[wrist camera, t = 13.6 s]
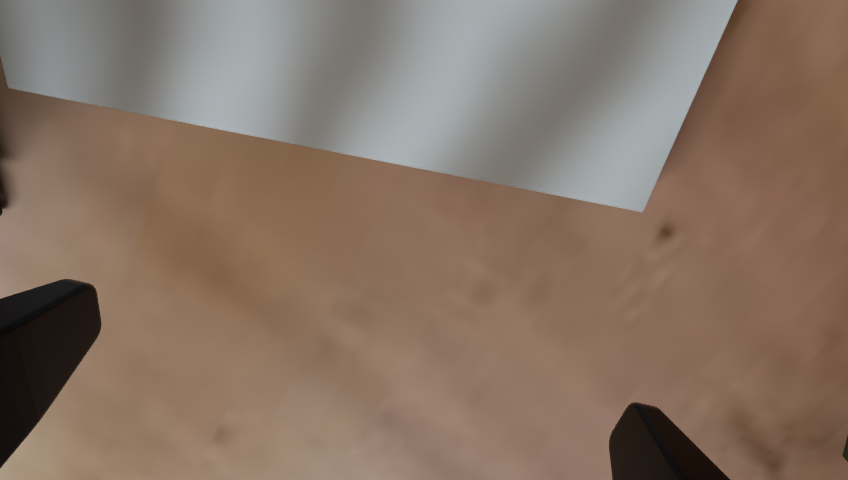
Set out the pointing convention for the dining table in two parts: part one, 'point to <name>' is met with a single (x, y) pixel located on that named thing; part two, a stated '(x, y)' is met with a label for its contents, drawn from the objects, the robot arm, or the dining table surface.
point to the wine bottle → (846, 451)
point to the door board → (396, 78)
